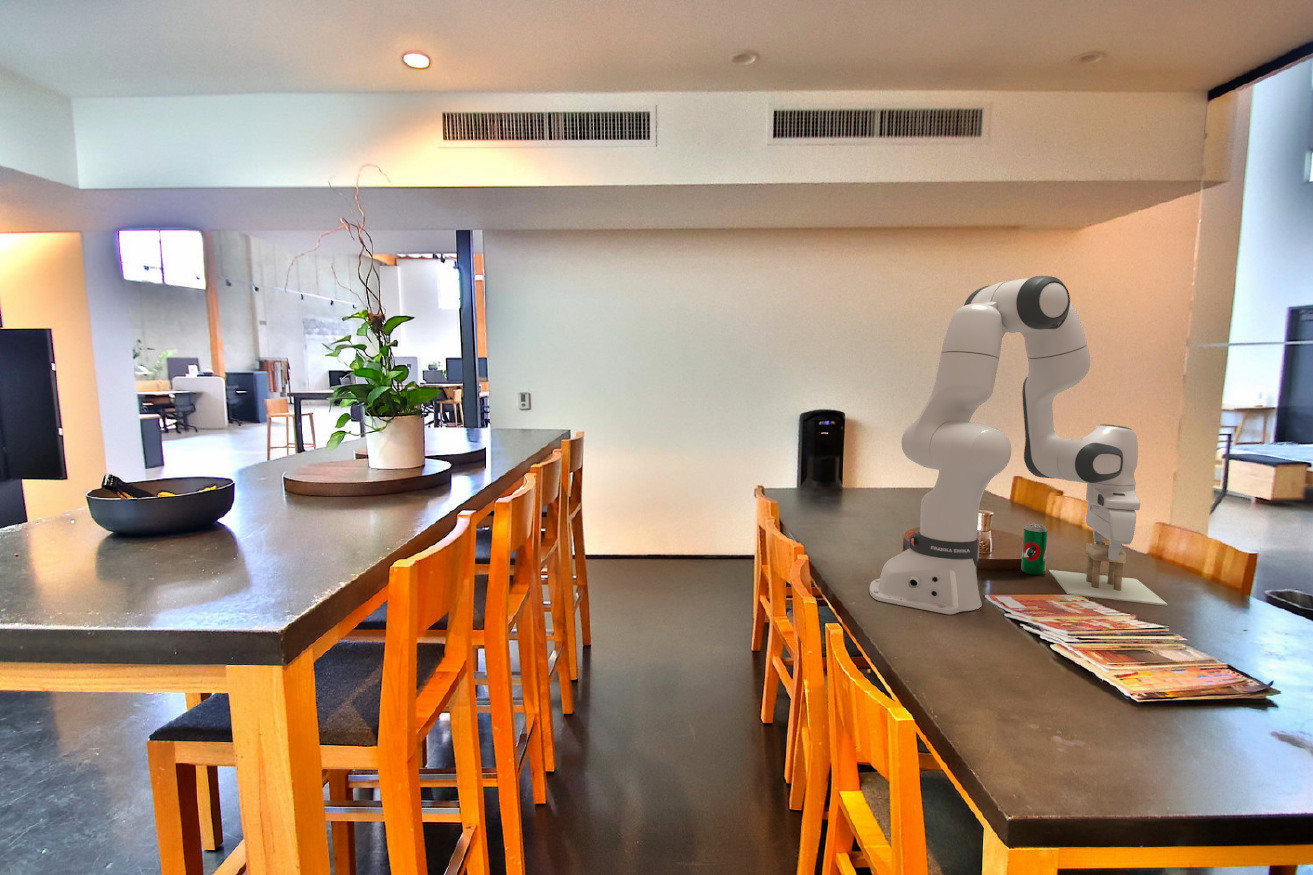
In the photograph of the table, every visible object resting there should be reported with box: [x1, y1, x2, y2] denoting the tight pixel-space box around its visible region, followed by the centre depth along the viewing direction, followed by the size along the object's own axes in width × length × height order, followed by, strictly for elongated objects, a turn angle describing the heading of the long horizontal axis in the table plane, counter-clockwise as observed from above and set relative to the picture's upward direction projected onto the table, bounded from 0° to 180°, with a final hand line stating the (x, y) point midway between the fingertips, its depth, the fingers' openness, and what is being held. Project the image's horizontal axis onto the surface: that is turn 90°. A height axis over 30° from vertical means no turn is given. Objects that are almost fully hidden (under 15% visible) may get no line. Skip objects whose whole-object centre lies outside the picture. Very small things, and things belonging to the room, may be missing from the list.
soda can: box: [1020, 523, 1049, 576], centre depth 148 cm, size 5×5×12 cm
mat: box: [1048, 569, 1169, 607], centre depth 138 cm, size 18×18×1 cm
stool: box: [1085, 542, 1127, 591], centre depth 138 cm, size 6×6×9 cm
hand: (1105, 554), depth 138 cm, fingers open, 8 cm apart
